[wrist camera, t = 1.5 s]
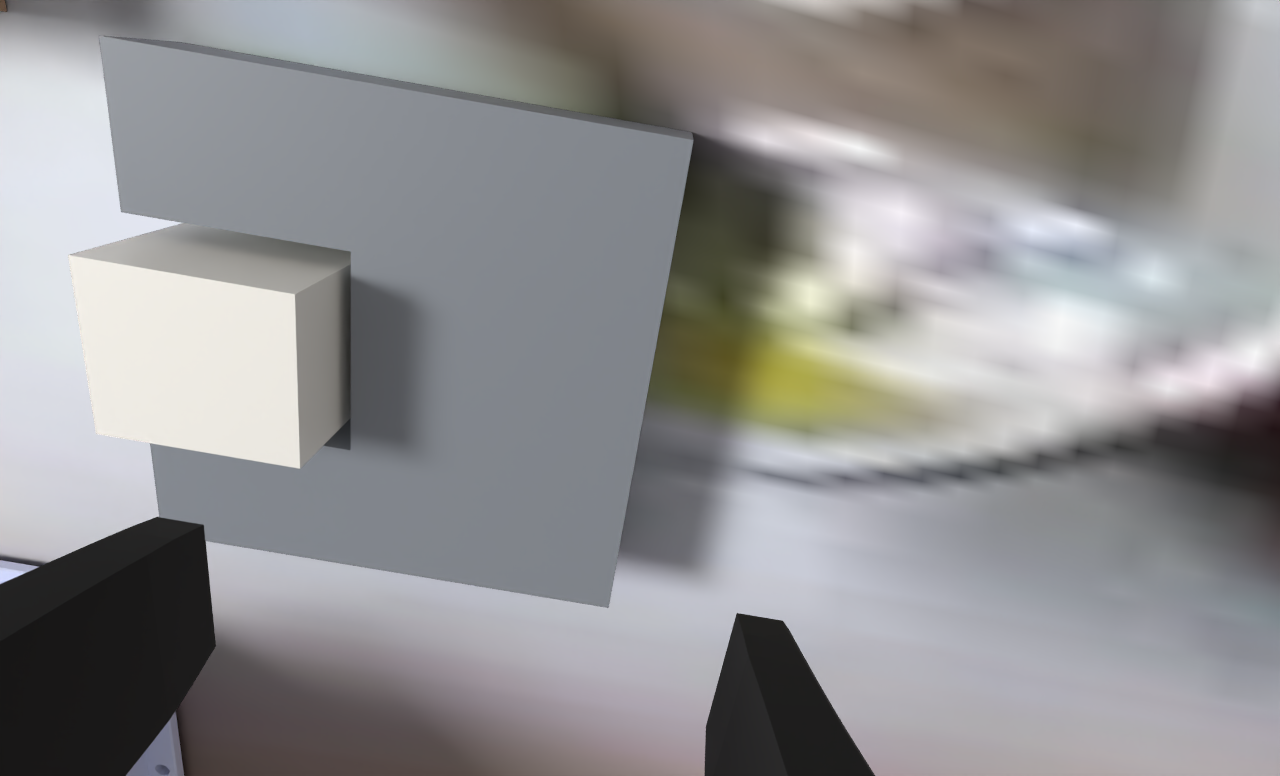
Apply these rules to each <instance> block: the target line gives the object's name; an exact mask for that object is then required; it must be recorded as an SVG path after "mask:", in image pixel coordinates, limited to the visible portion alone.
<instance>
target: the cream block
mask: <svg viewBox="0 0 1280 776" xmlns="http://www.w3.org/2000/svg"><path fill="white" fill-rule="evenodd" d="M68 258H69V265H70V271H71V277H72V284H73V290H74V297H75V303H76V309H77V316H78V322H79V328H80V335H81V341H82V348H83V354H84V360H85V367H86V373H87V379H88V386H89V392H90V399H91V405H92V411H93V418H94V424H95V430H96V434H99V435H105V436H111V437H117V438H123V439H128V440H134V441H140V442H146V443H152V444H158V445H164V446H170V447H175V448H181V449H187V450H193V451H199V452H205V453H211V454H217V455H223V456H228V457H234V458H240V459H246V460H252V461H258V462H264V463H270V464H275V465H281V466H287V467H293V468H299V469H300V468H301V467H302V466H303V465H304V464H305V463H306V462H307V461H308V460H309V459H310V458H311V457H312V456H313V455H314V454H315V453H316V452H317V451H318V450H319V449H320V448H321V447H322V446H323V445H324V444H325V443H326V442H327V441H328V440H329V439H330V438H331V437H332V436H333V435H334V434H335V433H336V432H337V431H338V430H339V429H340V428H341V427H342V426H343V425H344V424H345V423H346V422H347V421H348V420H349V419H350V418H351V252H350V251H344V250H338V249H333V248H327V247H321V246H315V245H309V244H304V243H298V242H292V241H286V240H280V239H275V238H269V237H263V236H257V235H251V234H246V233H240V232H234V231H228V230H222V229H216V228H211V227H205V226H199V225H193V224H187V223H182V224H178V225H175V226H171V227H167V228H164V229H160V230H157V231H153V232H149V233H146V234H142V235H139V236H135V237H131V238H128V239H124V240H121V241H117V242H113V243H110V244H106V245H103V246H99V247H95V248H92V249H88V250H85V251H81V252H77V253H74V254H70V255H68Z"/></svg>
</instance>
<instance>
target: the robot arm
mask: <svg viewBox="0 0 1280 776" xmlns="http://www.w3.org/2000/svg"><path fill="white" fill-rule="evenodd" d="M215 646H216V644H215V634H214V624H213V613H212V603H211V593H210V583H209V572H208V562H207V552H206V542H205V531H204V525H203V524H197V523H191V522H185V521H179V520H173V519H167V518H161V517H156V518H153V519H150V520H148V521H145V522H142V523H140V524H137V525H135V526H132V527H130V528H127V529H125V530H122V531H120V532H118V533H115V534H113V535H111V536H108V537H106V538H104V539H101V540H99V541H97V542H94V543H92V544H90V545H87V546H85V547H83V548H81V549H78V550H76V551H74V552H72V553H69V554H67V555H65V556H63V557H60V558H58V559H56V560H54V561H51V562H49V563H47V564H45V565H42V566H40V567H38V566H32V565H26V564H20V563H14V562H8V561H2V560H0V776H184V771H183V763H182V756H181V748H180V740H179V733H178V725H177V718H176V709H177V708H178V706H179V705H180V703H181V702H182V700H183V699H184V697H185V695H186V694H187V692H188V691H189V689H190V688H191V686H192V685H193V683H194V681H195V680H196V678H197V676H198V675H199V673H200V671H201V670H202V668H203V666H204V665H205V663H206V661H207V660H208V658H209V656H210V655H211V653H212V651H213V650H214V648H215ZM705 776H875V775H874V773H873V772H872V770H871V768H870V767H869V765H868V764H867V762H866V760H865V759H864V757H863V756H862V754H861V753H860V751H859V749H858V748H857V746H856V745H855V743H854V741H853V740H852V738H851V737H850V735H849V733H848V732H847V730H846V729H845V727H844V725H843V724H842V722H841V720H840V719H839V717H838V715H837V714H836V712H835V710H834V709H833V707H832V705H831V703H830V702H829V700H828V698H827V697H826V695H825V693H824V691H823V690H822V688H821V686H820V684H819V683H818V681H817V679H816V677H815V676H814V674H813V672H812V670H811V669H810V667H809V665H808V663H807V661H806V660H805V658H804V656H803V654H802V652H801V651H800V649H799V647H798V645H797V643H796V642H795V640H794V638H793V636H792V634H791V633H790V631H789V629H788V628H787V626H786V625H785V623H784V622H783V621H781V620H775V619H769V618H763V617H757V616H751V615H745V614H739V613H737V615H736V618H735V622H734V626H733V629H732V633H731V637H730V640H729V644H728V648H727V651H726V655H725V659H724V662H723V666H722V670H721V673H720V677H719V681H718V684H717V688H716V692H715V695H714V699H713V703H712V706H711V710H710V714H709V717H708V721H707V725H706V745H705Z"/></svg>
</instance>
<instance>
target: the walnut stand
mask: <svg viewBox="0 0 1280 776" xmlns="http://www.w3.org/2000/svg"><path fill="white" fill-rule="evenodd" d="M0 11H4V12H7V9H6V3H5V0H0Z"/></svg>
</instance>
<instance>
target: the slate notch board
mask: <svg viewBox="0 0 1280 776" xmlns="http://www.w3.org/2000/svg"><path fill="white" fill-rule="evenodd" d="M99 40H100V48H101V56H102V64H103V72H104V80H105V88H106V96H107V104H108V112H109V120H110V128H111V136H112V144H113V152H114V160H115V168H116V176H117V184H118V192H119V200H120V207H121V212H124V213H129V214H135V215H141V216H147V217H153V218H158V219H164V220H170V221H176V222H182V223H187V224H193V225H199V226H205V227H211V228H216V229H222V230H228V231H234V232H240V233H246V234H251V235H257V236H263V237H269V238H275V239H280V240H286V241H292V242H298V243H304V244H309V245H315V246H321V247H327V248H333V249H338V250H344V251H350V252H351V418H350V419H349V420H348V421H347V422H346V423H345V424H344V425H343V426H342V427H341V428H340V429H339V430H338V431H337V432H336V433H335V434H334V435H333V436H332V437H331V438H330V439H329V440H328V441H327V442H326V443H325V444H324V445H323V446H322V447H321V448H320V449H319V450H318V451H317V452H316V453H315V454H314V455H313V456H312V457H311V458H310V459H309V460H308V461H307V462H306V463H305V464H304V465H303V466H302V467H301V468H300V469H299V468H293V467H287V466H281V465H275V464H270V463H264V462H258V461H252V460H246V459H240V458H234V457H228V456H223V455H217V454H211V453H205V452H199V451H193V450H187V449H181V448H175V447H170V446H164V445H158V444H152V443H150V446H151V454H152V462H153V470H154V478H155V486H156V494H157V502H158V510H159V517H161V518H167V519H173V520H179V521H185V522H191V523H197V524H203V525H204V531H205V541H209V542H215V543H221V544H227V545H233V546H239V547H245V548H251V549H257V550H263V551H269V552H275V553H281V554H287V555H293V556H299V557H305V558H311V559H317V560H323V561H329V562H335V563H341V564H347V565H353V566H359V567H365V568H371V569H377V570H383V571H389V572H395V573H402V574H408V575H414V576H420V577H426V578H432V579H438V580H444V581H450V582H456V583H462V584H468V585H474V586H480V587H486V588H492V589H498V590H504V591H510V592H516V593H522V594H528V595H534V596H540V597H546V598H552V599H558V600H564V601H570V602H576V603H582V604H588V605H594V606H600V607H606V608H609V602H610V597H611V591H612V586H613V580H614V575H615V569H616V564H617V558H618V553H619V547H620V542H621V536H622V531H623V525H624V520H625V514H626V509H627V503H628V498H629V492H630V487H631V481H632V476H633V470H634V465H635V459H636V454H637V448H638V443H639V437H640V432H641V426H642V421H643V415H644V410H645V404H646V399H647V393H648V388H649V382H650V377H651V371H652V366H653V360H654V355H655V349H656V344H657V338H658V333H659V327H660V322H661V316H662V311H663V305H664V300H665V294H666V289H667V283H668V278H669V272H670V267H671V261H672V256H673V250H674V245H675V239H676V234H677V228H678V223H679V217H680V212H681V206H682V201H683V195H684V190H685V184H686V179H687V173H688V168H689V162H690V157H691V151H692V146H693V135H692V132H688V131H682V130H676V129H671V128H665V127H659V126H653V125H648V124H642V123H636V122H631V121H625V120H619V119H614V118H608V117H602V116H597V115H591V114H585V113H580V112H574V111H568V110H562V109H557V108H551V107H545V106H540V105H534V104H528V103H523V102H517V101H511V100H506V99H500V98H494V97H489V96H483V95H477V94H471V93H466V92H460V91H454V90H449V89H443V88H437V87H432V86H426V85H420V84H415V83H409V82H403V81H398V80H392V79H386V78H381V77H375V76H369V75H363V74H358V73H352V72H346V71H341V70H335V69H329V68H324V67H318V66H312V65H307V64H301V63H295V62H290V61H284V60H278V59H272V58H267V57H261V56H255V55H250V54H244V53H238V52H233V51H227V50H221V49H216V48H210V47H204V46H199V45H193V44H187V43H182V42H171V41H159V40H147V39H135V38H122V37H110V36H99Z"/></svg>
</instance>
